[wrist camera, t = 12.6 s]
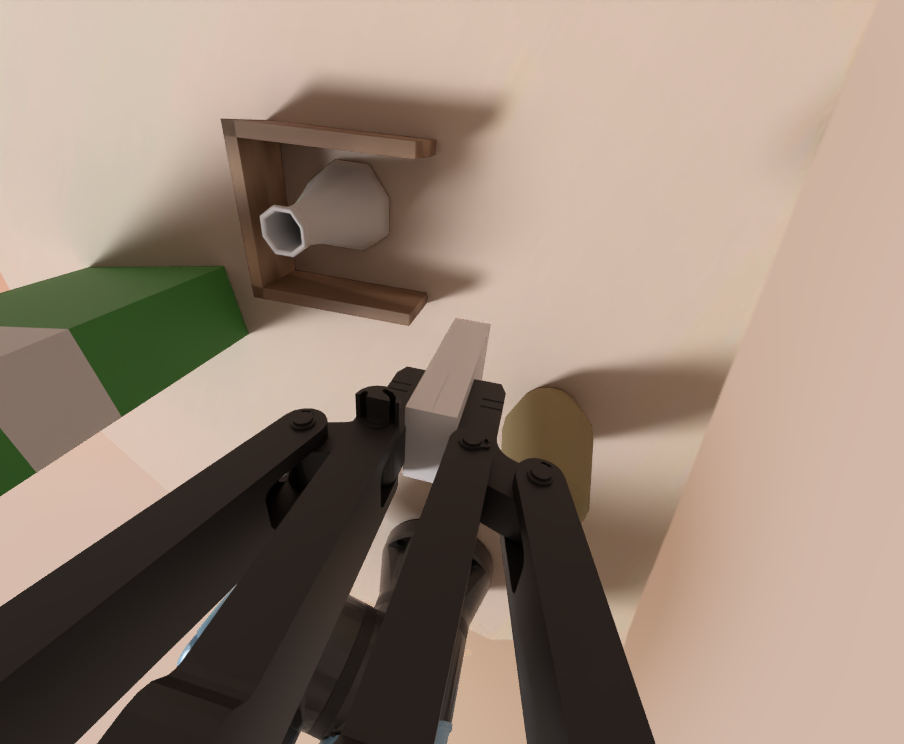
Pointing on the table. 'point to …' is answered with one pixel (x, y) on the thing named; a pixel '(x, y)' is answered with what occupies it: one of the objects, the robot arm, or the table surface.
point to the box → (264, 186)
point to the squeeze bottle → (553, 438)
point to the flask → (331, 212)
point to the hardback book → (100, 352)
